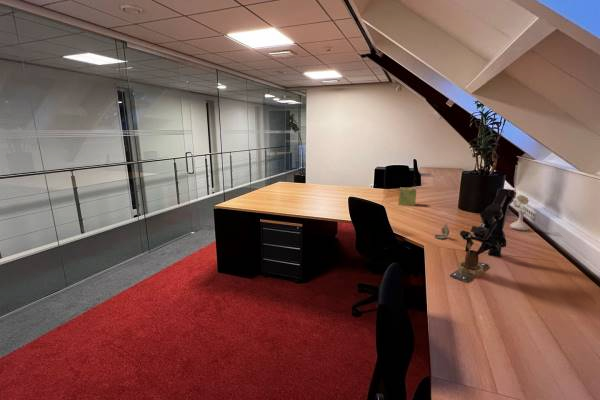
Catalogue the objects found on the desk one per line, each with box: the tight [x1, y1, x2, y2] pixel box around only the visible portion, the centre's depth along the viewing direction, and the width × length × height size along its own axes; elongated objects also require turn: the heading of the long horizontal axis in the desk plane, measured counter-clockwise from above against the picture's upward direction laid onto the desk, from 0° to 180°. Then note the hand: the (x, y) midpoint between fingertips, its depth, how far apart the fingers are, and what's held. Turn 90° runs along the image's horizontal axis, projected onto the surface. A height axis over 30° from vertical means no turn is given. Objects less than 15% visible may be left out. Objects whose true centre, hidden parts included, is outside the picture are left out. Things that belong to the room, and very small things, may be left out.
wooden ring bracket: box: [449, 260, 490, 283], centre depth 154 cm, size 27×11×3 cm, turn 129°
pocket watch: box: [434, 223, 450, 240], centre depth 201 cm, size 8×8×10 cm
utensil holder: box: [464, 244, 480, 267], centre depth 153 cm, size 6×6×12 cm
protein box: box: [397, 187, 417, 207], centre depth 290 cm, size 10×15×16 cm
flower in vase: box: [509, 194, 530, 231], centre depth 216 cm, size 13×11×25 cm
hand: (470, 253), depth 152 cm, fingers closed on utensil holder, 5 cm apart
